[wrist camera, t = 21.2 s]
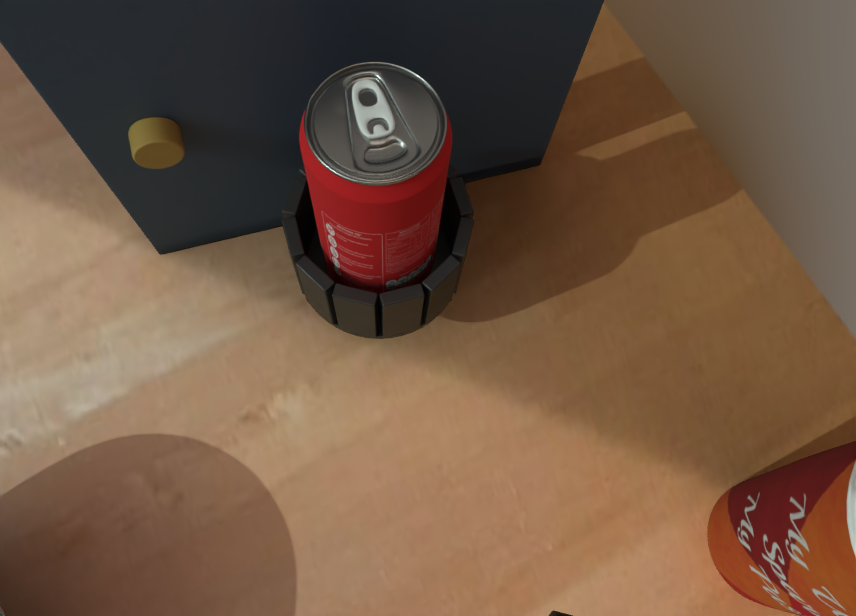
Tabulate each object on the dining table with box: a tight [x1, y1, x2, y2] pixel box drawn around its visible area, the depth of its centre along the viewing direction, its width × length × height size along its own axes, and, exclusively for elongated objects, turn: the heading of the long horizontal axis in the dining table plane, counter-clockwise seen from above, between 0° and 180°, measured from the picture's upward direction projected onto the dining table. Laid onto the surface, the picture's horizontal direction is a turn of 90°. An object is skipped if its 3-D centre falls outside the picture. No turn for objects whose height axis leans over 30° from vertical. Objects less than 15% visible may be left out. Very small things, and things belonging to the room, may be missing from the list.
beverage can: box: [299, 61, 452, 304], centre depth 30 cm, size 5×5×12 cm
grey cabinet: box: [0, 0, 604, 339], centre depth 30 cm, size 22×18×24 cm
